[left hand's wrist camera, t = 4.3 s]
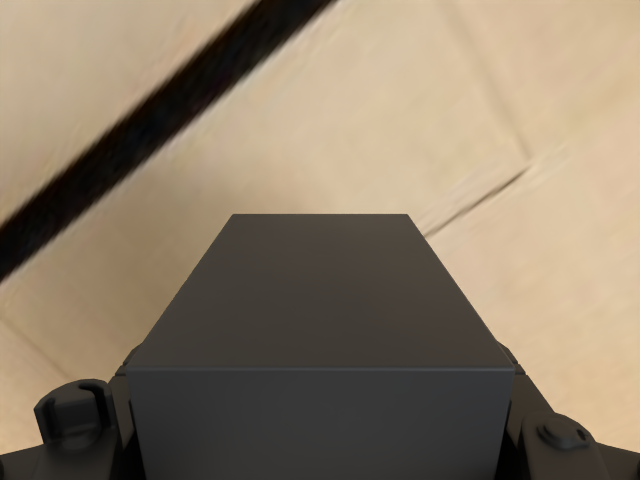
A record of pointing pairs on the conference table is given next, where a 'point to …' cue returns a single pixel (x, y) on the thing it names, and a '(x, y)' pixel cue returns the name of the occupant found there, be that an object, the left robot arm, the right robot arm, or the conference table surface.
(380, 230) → the bar
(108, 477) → the left robot arm
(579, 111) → the conference table surface
